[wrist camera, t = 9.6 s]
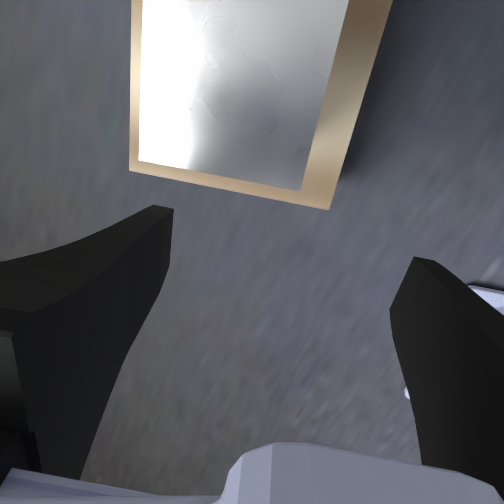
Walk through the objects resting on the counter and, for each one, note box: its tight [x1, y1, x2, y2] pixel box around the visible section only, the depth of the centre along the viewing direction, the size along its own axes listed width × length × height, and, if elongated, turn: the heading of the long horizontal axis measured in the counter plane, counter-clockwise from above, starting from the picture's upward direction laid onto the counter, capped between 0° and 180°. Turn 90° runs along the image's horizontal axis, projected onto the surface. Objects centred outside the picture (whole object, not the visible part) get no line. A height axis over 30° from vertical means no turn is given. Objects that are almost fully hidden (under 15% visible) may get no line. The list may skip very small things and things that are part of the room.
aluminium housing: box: [139, 0, 349, 192], centre depth 12 cm, size 9×5×5 cm, turn 170°
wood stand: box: [129, 0, 393, 210], centre depth 16 cm, size 14×9×3 cm, turn 170°
